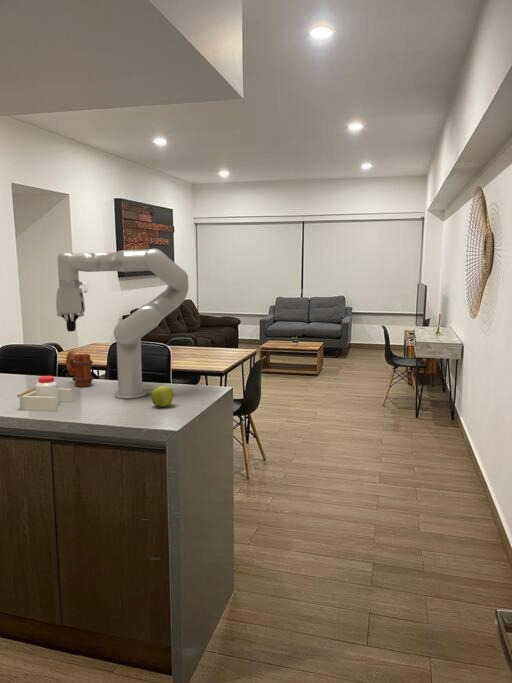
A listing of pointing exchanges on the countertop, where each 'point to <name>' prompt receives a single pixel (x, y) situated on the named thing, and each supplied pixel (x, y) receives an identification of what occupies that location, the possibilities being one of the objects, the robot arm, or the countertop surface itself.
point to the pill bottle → (47, 387)
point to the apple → (162, 396)
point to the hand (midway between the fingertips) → (71, 331)
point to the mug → (79, 368)
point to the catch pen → (43, 400)
